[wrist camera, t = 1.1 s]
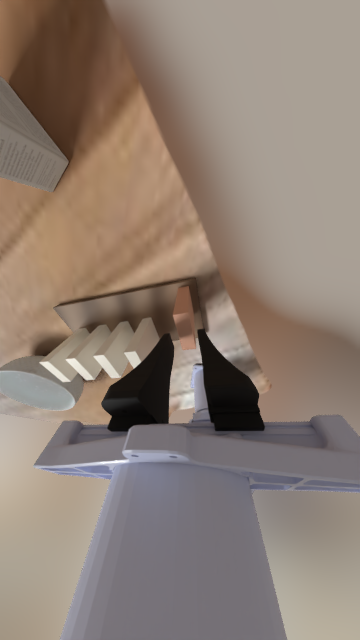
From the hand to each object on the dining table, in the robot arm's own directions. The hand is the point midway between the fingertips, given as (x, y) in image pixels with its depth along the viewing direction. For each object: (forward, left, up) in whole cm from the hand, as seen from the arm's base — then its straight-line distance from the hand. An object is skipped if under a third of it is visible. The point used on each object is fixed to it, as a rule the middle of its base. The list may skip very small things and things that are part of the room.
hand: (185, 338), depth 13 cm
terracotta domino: (0, 0, -9) cm, 9 cm away
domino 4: (-6, +6, -9) cm, 12 cm away
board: (-5, +10, -10) cm, 15 cm away
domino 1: (-10, +19, -9) cm, 23 cm away
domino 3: (-7, +11, -9) cm, 16 cm away
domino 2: (-8, +15, -9) cm, 19 cm away
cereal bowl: (-22, +32, -10) cm, 40 cm away
